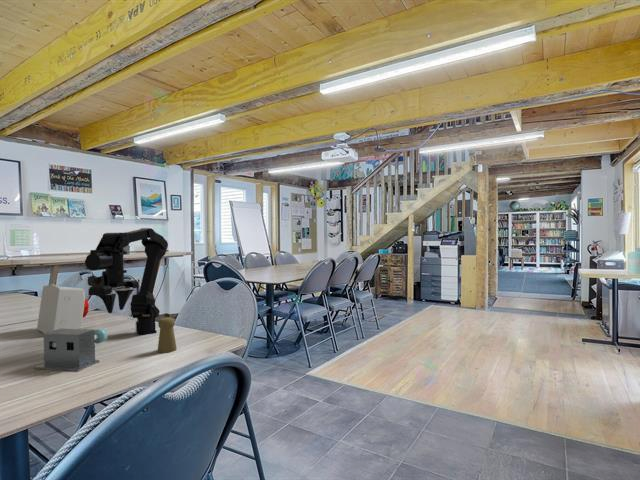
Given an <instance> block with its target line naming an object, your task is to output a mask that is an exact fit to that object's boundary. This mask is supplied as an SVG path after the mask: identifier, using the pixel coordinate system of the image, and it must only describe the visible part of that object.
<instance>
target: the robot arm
mask: <svg viewBox="0 0 640 480" xmlns="http://www.w3.org/2000/svg"><path fill="white" fill-rule="evenodd" d="M138 241H141V244H142V246H143V247H144V253H145V256H146V261H145V265H144V270H143V274H142V278H141V283H139V281H138V280H137V279H135V280H134V279H132V280H131V279H125V274H126V273H128V272H127V269H125V267H124V265H125V262H124V255H128V252H127V251H126V250H125V247H128V246H129V244H131V243H134V242H138ZM168 246H169V243H168V241H167V240H166V238H164V236H163V235H161V234H160V233H158V232H156V231H155V230H154V229H153V228H150V227H144V228H143V227H141V228H139V229H134V230H131V231H125V232H105V233H103V234H102V236H101V238H100V240H99V242H98V244H97V246H96V248H95V249H90V252H89V253H88V255H87V256H86V258H85V260H84V264H85V267H86V268H87V269H88V270H89V271H100V270H103V271H102V273H101V276H96V275H90V276H88V277H87V285H88V286H90V287H89V288H88V296H96V297H98V298H100V299H101V300H102V301H103V304H104V306H105V309H106V311H107V313H108V314H112V313H113V310H114V305H115V301H116V297H117V298H118V299H117V300H118V308H119V311H123V310H124V308H125V306H126V304H127V302H128V300H129V298H130V296H131V295H132V292H134V291H135V290H134V289H138V288H139V291H138V292H137V293H136V294H133V295H132V296H131V302H130V304H129V305H130V312H131V315H132V319H136V321H135V332H136V334H137V335H138V336H141V335H150V334H154V333H157V330H156V319H157V318H158V317H159V316H160V310H159V308H158V307H157V305H156V299H155V296H154V293H153V292H154V289H155V284H156V280H157V275H158V269H159V266H160V260H161V259H163V257H164V256H165V255H166V253H167V249H168ZM113 291H114V292H115V293H114V292H113Z"/></svg>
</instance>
